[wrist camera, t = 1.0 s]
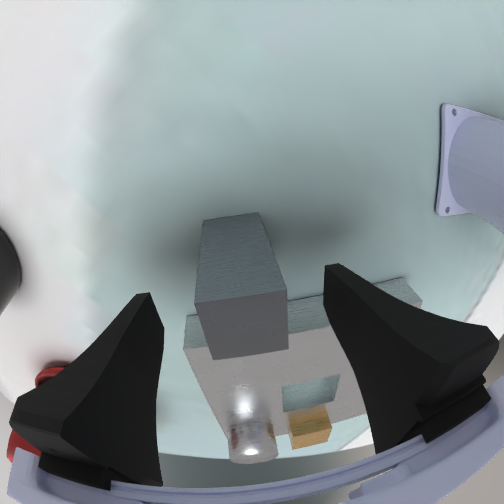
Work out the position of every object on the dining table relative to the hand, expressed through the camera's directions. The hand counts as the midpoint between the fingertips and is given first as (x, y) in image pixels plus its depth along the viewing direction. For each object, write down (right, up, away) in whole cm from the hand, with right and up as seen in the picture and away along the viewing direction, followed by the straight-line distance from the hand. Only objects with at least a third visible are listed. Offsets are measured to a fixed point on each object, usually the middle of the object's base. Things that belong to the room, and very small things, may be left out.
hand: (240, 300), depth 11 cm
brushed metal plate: (+5, -8, +11) cm, 15 cm away
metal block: (-1, +3, +5) cm, 5 cm away
